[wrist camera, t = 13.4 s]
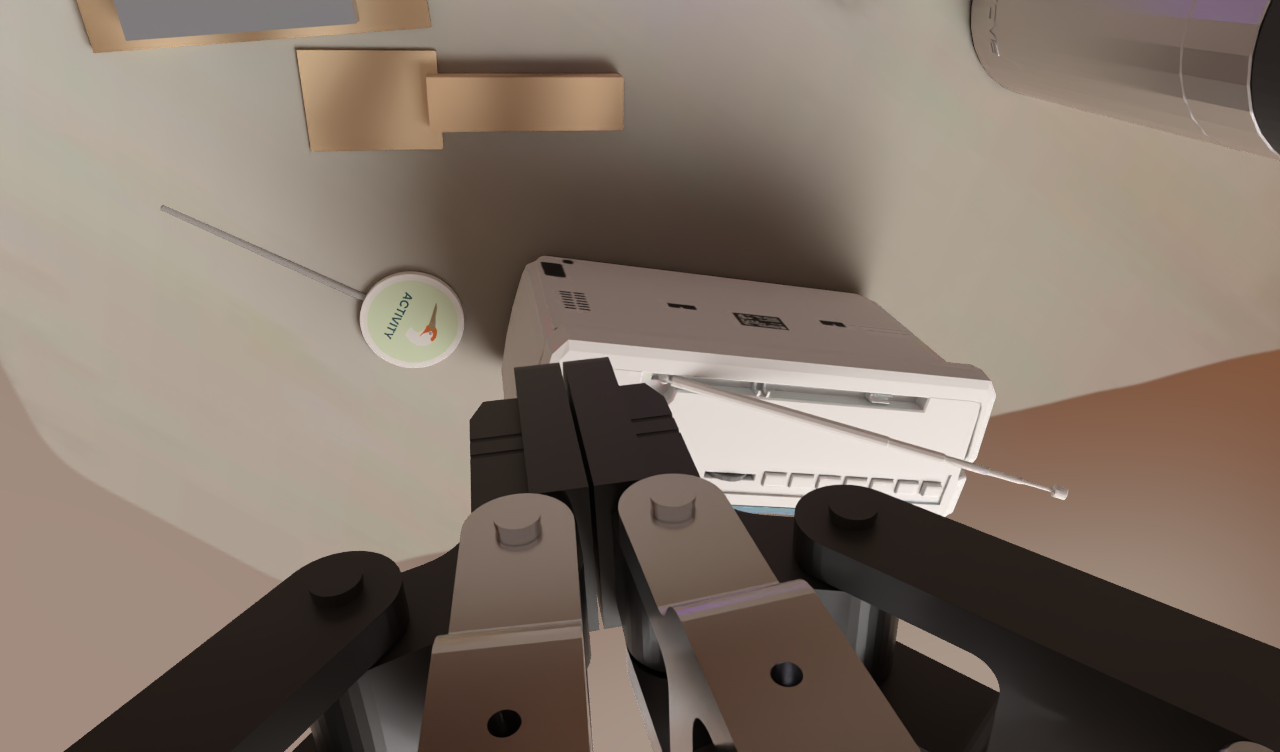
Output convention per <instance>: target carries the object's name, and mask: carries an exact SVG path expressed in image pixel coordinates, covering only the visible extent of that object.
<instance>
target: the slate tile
mask: <svg viewBox="0 0 1280 752" xmlns="http://www.w3.org/2000/svg"><path fill="white" fill-rule="evenodd" d="M113 1H114V4H115V8H116V11H117V14H118V17H119V20H120V24H121V27H122V30H123V33H124V36H125V40H126V41H132V40H145V39H159V38H172V37H186V36H199V35H212V34H226V33H239V32H253V31H266V30H279V29H293V28H306V27H319V26H333V25H346V24H356V23H357V22H358V21H360V19H359V14H358V9H357V4H356V0H113Z"/></svg>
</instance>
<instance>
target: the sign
mask: <svg viewBox="0 0 1280 752" xmlns="http://www.w3.org/2000/svg"><path fill="white" fill-rule="evenodd" d="M161 210H162V211H164V212H167V213H169V214H171V215H173V216H175V217H177V218H180V219H182V220H184V221H186V222H188V223H191V224H193V225H195V226H197V227H199V228H202V229H204V230H206V231H208V232H210V233H213V234H215V235H217V236H219V237H221V238H224V239H226V240H228V241H230V242H232V243H235V244H237V245H239V246H241V247H244V248H246V249H248V250H250V251H252V252H255V253H257V254H259V255H261V256H264V257H266V258H268V259H270V260H272V261H275V262H277V263H279V264H281V265H283V266H286V267H288V268H290V269H292V270H295V271H297V272H299V273H301V274H303V275H306V276H308V277H310V278H312V279H315V280H317V281H319V282H321V283H323V284H326V285H328V286H330V287H332V288H335V289H337V290H339V291H341V292H343V293H346V294H348V295H350V296H352V297H355V298H357V299H359V300H361V301H363V304H362V307H361V311H360V327H361V331H362V334H363V337H364V339H365V341H366V342H367V344H368V345H369V347H370V348H371V349H372V350H373V351H374V352H375V353H376V354H377V355H378V356H379V357H381V358H382V359H384V360H385V361H387V362H389V363H392V364H394V365H397V366H401V367H407V368H421V367H427V366H430V365H433V364H436V363H438V362H440V361H442V360H443V359H445V358H446V357H448V356H449V355H450V354H451V353H452V352H453V351H454V350H455V348H456V347H457V345H458V344H459V342H460V340H461V337H462V334H463V330H464V312H463V307H462V304H461V302H460V300H459V298H458V296H457V295H456V293H455V292H454V291H453V290H452V288H451V287H450V286H448V285H447V284H446V283H445V282H443V281H442V280H440V279H439V278H437V277H435V276H432V275H430V274H427V273H423V272H416V271H405V272H399V273H395V274H392V275H389V276H387V277H385V278H383V279H381V280H380V281H379V282H377V283H376V284H375V285H374V286H373V287H372V288H371V289H370V290H369V292H368V293H367V295H365V294H363V293H361V292H359V291H357V290H354V289H352V288H350V287H348V286H345V285H343V284H341V283H339V282H336V281H334V280H332V279H330V278H327V277H325V276H323V275H321V274H318V273H316V272H314V271H312V270H309V269H307V268H305V267H303V266H301V265H298V264H296V263H294V262H292V261H289V260H287V259H285V258H283V257H280V256H278V255H276V254H273V253H271V252H269V251H267V250H264V249H262V248H260V247H258V246H255V245H253V244H251V243H249V242H246V241H244V240H242V239H239V238H237V237H235V236H233V235H230V234H228V233H226V232H224V231H221V230H219V229H217V228H214V227H212V226H210V225H208V224H205V223H203V222H201V221H198V220H196V219H194V218H191V217H189V216H187V215H185V214H182V213H180V212H178V211H175V210H173V209H171V208H169V207H166V206H164V205H163V206H162V209H161Z"/></svg>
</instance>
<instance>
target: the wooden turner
mask: <svg viewBox="0 0 1280 752" xmlns="http://www.w3.org/2000/svg"><path fill="white" fill-rule="evenodd" d="M296 51H297V58H298V65H299V72H300V78H301V85H302V92H303V99H304V106H305V113H306V120H307V127H308V133H309V140H310V147H311V151H354V150H420V149H443V136H442V132H500V131H586V130H623V116H624V77H623V76H622V75H620V74H452V73H438V71H437V58H436V50H296Z"/></svg>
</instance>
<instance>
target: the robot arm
mask: <svg viewBox="0 0 1280 752" xmlns="http://www.w3.org/2000/svg"><path fill="white" fill-rule="evenodd" d="M971 31H972V36H973V42H974V48H975V50H976V52H977V55H978V57H979V60H980V62H981V64H982V66H983V67H984V68H985V70H986V71H987V72H988V74H989V75H990V77H991V78H993V79H994V80H995V81H996V82H998V83H999V84H1000V85H1001V86H1003V87H1004V88H1007V89H1009V90H1011V91H1014V92H1016V93H1019V94H1023V95H1027V96H1031V97H1035V98H1038V99H1042V100H1046V101H1050V102H1054V103H1058V104H1061V105H1064V106H1068V107H1072V108H1076V109H1080V110H1083V111H1087V112H1091V113H1095V114H1099V115H1103V116H1107V117H1111V118H1115V119H1118V120H1122V121H1126V122H1130V123H1134V124H1138V125H1142V126H1146V127H1150V128H1153V129H1157V130H1161V131H1165V132H1169V133H1173V134H1177V135H1181V136H1185V137H1188V138H1192V139H1196V140H1200V141H1204V142H1208V143H1212V144H1216V145H1220V146H1223V147H1227V148H1231V149H1235V150H1239V151H1245V152H1248V153H1252V154H1256V155H1260V156H1264V157H1268V158H1272V159H1275V160H1279V161H1280V0H973V3H972V10H971ZM514 376H515V384H516V393H517V398H512V399H504V400H495V401H487V402H483V403H482V404H481V406H480V407H479V408H478V410H477V411H476V412H475V414H474V415H473V416H472V418H471V419H470V457H471V459H470V464H471V514H470V515H469V516H468V518H467V519H466V520H465V522H464V524H463V526H462V530H461V535H460V542H459V543H458V544H457V545H456V546H455V547H454V548H453V549H451V550H450V551H449V552H447V553H446V554H444V555H443V556H441V557H439V558H437V559H435V560H433V561H431V562H428V563H426V564H424V565H421V566H418V567H415V568H413V569H410V570H407V571H405V572H402V573H401V572H400V569H399V567H398V566H397V565H396V563H395V562H394V561H392V560H391V559H390V558H388V557H386V556H384V555H382V554H378V553H374V552H368V551H350V552H342V553H337V554H333V555H329V556H326V557H323V558H320V559H318V560H316V561H313V562H311V563H309V564H307V565H306V566H304V567H302V568H301V569H299V570H298V571H296V572H295V573H293V574H292V575H291V576H290V577H288V578H287V579H286V580H284V581H283V582H282V583H280V584H279V585H278V586H277V587H275V588H274V589H273V590H271V591H270V592H269V593H268V594H267V595H265V596H264V597H262V598H261V599H260V600H259V601H258V602H256V603H255V604H253V605H252V606H251V607H250V608H248V609H247V610H246V611H244V612H243V613H242V614H240V616H238V617H237V618H235V619H234V620H233V621H232V622H230V623H229V624H228V625H226V626H225V627H224V628H223V629H221V630H220V631H219V632H217V633H216V634H215V635H214V636H212V637H211V638H210V639H208V640H207V641H206V642H204V643H203V644H202V645H201V646H199V647H198V648H197V649H195V650H194V651H193V652H192V653H190V654H189V655H188V656H186V657H185V658H184V659H182V660H181V661H180V662H179V663H177V664H176V665H175V666H173V667H172V668H171V669H170V670H168V671H167V672H166V673H164V674H163V675H162V676H161V677H159V678H158V679H157V680H155V681H154V682H153V683H151V684H150V685H149V686H148V687H147V688H145V689H144V690H143V691H141V692H140V693H139V694H137V695H136V696H135V697H133V698H132V699H131V700H130V701H128V702H127V703H126V704H124V705H123V706H122V707H121V708H119V709H118V710H117V711H115V712H114V713H113V714H111V715H110V716H109V717H108V718H107V719H105V720H104V721H103V722H101V723H100V724H99V725H97V726H96V727H95V728H94V729H92V730H91V731H90V732H88V733H87V734H86V735H84V736H83V737H82V738H81V739H79V740H78V741H77V742H76V743H74V744H73V745H71V746H70V747H69V748H68V749H66V750H65V751H64V752H284V751H285V750H286V749H287V748H288V747H289V746H290V745H291V744H292V743H294V741H296V740H297V739H298V738H299V737H300V736H301V735H302V734H303V733H304V732H305V731H306V730H307V729H308V728H309V727H310V728H311V731H312V733H311V734H309V736H307V738H306V739H305V740H303V741H302V742H301V743H300V744H299V746H297V747H296V748H295V749H294V750H293V751H292V752H594V751H593V739H592V724H591V711H590V698H589V684H588V671H587V668H588V666H589V663H590V659H591V648H590V635H589V632H590V631H596V630H599V620H598V607H597V597H598V602H599V607H600V612H601V616H602V621H603V626H604V629H606V628H613V627H619V626H622V628H623V632H624V636H625V641H626V657H627V671H628V676H629V679H630V682H631V685H632V688H633V691H634V694H635V697H636V700H637V703H638V706H639V709H640V712H641V715H642V718H643V722H644V724H645V728H646V730H647V733H648V737H649V740H650V743H651V746H652V748H653V752H1280V649H1278V648H1276V647H1273V646H1271V645H1268V644H1266V643H1263V642H1260V641H1258V640H1255V639H1253V638H1250V637H1248V636H1245V635H1243V634H1240V633H1238V632H1235V631H1232V630H1230V629H1227V628H1225V627H1222V626H1220V625H1217V624H1215V623H1212V622H1210V621H1207V620H1205V619H1202V618H1199V617H1197V616H1194V615H1192V614H1189V613H1187V612H1184V611H1182V610H1179V609H1177V608H1174V607H1172V606H1169V605H1167V604H1164V603H1162V602H1159V601H1156V600H1154V599H1151V598H1148V597H1146V596H1144V595H1141V594H1139V593H1136V592H1134V591H1131V590H1129V589H1126V588H1123V587H1121V586H1118V585H1116V584H1113V583H1111V582H1108V581H1106V580H1103V579H1101V578H1098V577H1095V576H1093V575H1090V574H1088V573H1085V572H1083V571H1080V570H1078V569H1075V568H1073V567H1070V566H1067V565H1065V564H1062V563H1060V562H1058V561H1055V560H1052V559H1050V558H1047V557H1045V556H1042V555H1040V554H1037V553H1035V552H1032V551H1030V550H1027V549H1025V548H1022V547H1019V546H1017V545H1014V544H1012V543H1009V542H1007V541H1004V540H1002V539H999V538H997V537H994V536H992V535H989V534H986V533H984V532H981V531H979V530H976V529H974V528H971V527H969V526H966V525H964V524H961V523H958V522H956V521H953V520H951V519H948V518H946V517H943V516H941V515H938V514H936V513H933V512H931V511H928V510H926V509H923V508H921V507H918V506H916V505H913V504H910V503H908V502H905V501H903V500H900V499H898V498H895V497H893V496H890V495H888V494H885V493H883V492H880V491H877V490H874V489H871V488H867V487H863V486H857V485H843V484H841V485H830V486H824V487H821V488H817V489H815V490H813V491H810V492H808V493H807V494H806V495H804V496H803V497H802V498H801V499H800V500H799V501H798V503H797V505H796V507H795V513H794V517H783V516H770V515H759V514H752V513H747V512H743V511H740V510H736V509H734V508H733V507H732V505H731V504H730V502H729V500H728V499H727V497H726V496H725V494H724V493H723V492H722V490H721V489H720V488H718V487H717V486H716V485H715V484H713V483H711V482H710V481H707V480H705V479H703V478H701V477H700V475H699V473H698V470H697V468H696V466H695V464H694V462H693V459H692V457H691V455H690V453H689V450H688V448H687V446H686V444H685V441H684V439H683V437H682V435H681V432H680V433H679V428H678V426H677V424H676V421H675V419H674V418H673V416H672V412H671V410H670V408H669V406H668V403H667V401H666V399H665V397H664V396H663V395H661V394H660V393H659V392H657V391H656V390H654V389H653V388H651V387H650V386H649V385H647V384H646V383H639V384H630V385H622V386H619V385H618V382H617V379H616V376H615V373H614V371H613V368H612V365H611V362H610V359H609V357H602V358H593V359H584V360H575V361H566V362H563V376H562V371H561V367H560V363H559V362H558V363H549V364H541V365H532V366H523V367H514ZM596 592H597V594H596ZM899 618H900V619H902V620H904V621H906V622H908V623H910V624H912V625H914V626H916V627H918V628H920V629H922V630H925V631H927V632H928V633H931V634H933V635H935V636H937V637H939V638H941V639H943V640H945V641H947V642H949V643H951V644H954V645H955V646H957V647H959V648H962V649H964V650H966V651H968V652H970V653H972V654H974V655H975V656H977V657H978V658H980V659H981V660H982V661H984V662H985V663H986V664H987V665H988V666H989V668H990V669H991V670H992V671H993V673H994V674H995V676H996V678H997V680H998V683H999V687H1000V692H997V691H995V690H993V689H991V688H989V687H987V686H985V685H983V684H981V683H979V682H977V681H975V680H973V679H971V678H969V677H967V676H965V675H963V674H961V673H959V672H957V671H955V670H953V669H951V668H949V667H947V666H945V665H943V664H941V663H939V662H937V661H935V660H933V659H931V658H929V657H927V656H925V655H923V654H921V653H919V652H917V651H915V650H913V649H911V648H909V647H907V646H905V645H903V644H901V643H899V642H897V641H896V635H897V628H898V620H899Z"/></svg>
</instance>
